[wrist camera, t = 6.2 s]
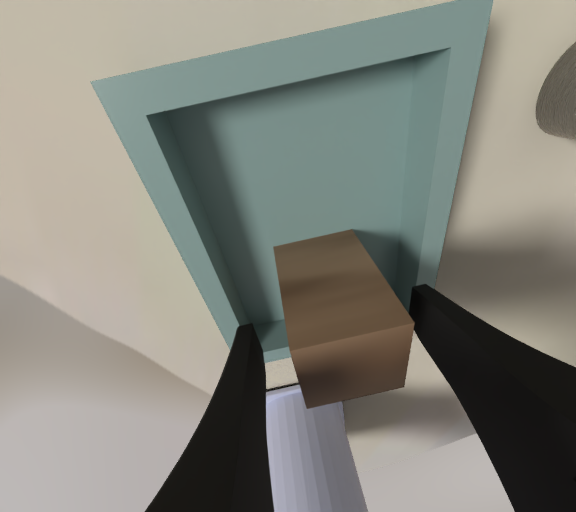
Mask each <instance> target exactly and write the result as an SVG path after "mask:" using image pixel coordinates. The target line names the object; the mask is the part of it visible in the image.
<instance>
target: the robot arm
mask: <svg viewBox="0 0 576 512" xmlns="http://www.w3.org/2000/svg"><path fill="white" fill-rule="evenodd" d="M409 315H410V317H411V318H412V320H413V321H414V323H415V324H414V331H415V332H416V334H417V336H418V338H419V340H420V341H421V343H422V344H423V346H424V347H425V349H426V350H427V352H428V353H429V355H430V356H431V358H432V359H433V361H434V362H435V364H436V365H437V367H438V368H439V370H440V371H441V373H442V374H443V375H444V377H445V378H446V380H447V381H448V383H449V384H450V386H451V387H452V389H453V391H454V392H455V394H456V395H457V397H458V399H459V401H460V403H461V404H462V406H463V408H464V410H465V412H466V413H467V415H468V417H469V419H470V421H471V423H472V425H473V426H474V428H475V430H476V432H477V434H478V436H479V438H480V440H481V442H482V443H483V445H484V447H485V450H486V452H487V454H488V456H489V458H490V460H491V462H492V464H493V466H494V468H495V470H496V472H497V474H498V476H499V478H500V480H501V482H502V484H503V487H504V489H505V491H506V493H507V495H508V497H509V500H510V502H511V504H512V506H513V508H514V511H515V512H576V367H574V366H571V365H569V364H567V363H565V362H562V361H560V360H558V359H555V358H553V357H551V356H549V355H547V354H545V353H542V352H540V351H538V350H536V349H534V348H532V347H530V346H528V345H526V344H524V343H522V342H520V341H518V340H516V339H515V338H513V337H511V336H509V335H507V334H505V333H504V332H502V331H500V330H498V329H496V328H495V327H493V326H491V325H489V324H488V323H486V322H484V321H483V320H481V319H479V318H478V317H476V316H474V315H473V314H471V313H470V312H468V311H466V310H465V309H463V308H462V307H460V306H459V305H457V304H456V303H454V302H453V301H451V300H450V299H448V298H446V297H445V296H443V295H442V294H440V293H439V292H438V291H436V290H435V289H433V288H431V287H430V286H428V285H427V284H422V285H418V286H413V287H412V291H411V299H410V306H409ZM145 512H368V510H367V506H366V502H365V499H364V495H363V492H362V489H361V485H360V481H359V477H358V474H357V470H356V466H355V463H354V459H353V456H352V452H351V448H350V445H349V441H348V438H347V434H346V431H345V421H344V412H343V404H342V401H341V402H336V403H332V404H327V405H323V406H319V407H314V408H310V409H307V408H306V405H305V402H304V398H303V395H302V391H301V388H300V385H295V386H290V387H286V388H282V389H277V390H273V391H268V392H266V372H265V363H264V354H263V349H262V347H261V344H260V342H259V339H258V337H257V334H256V331H255V329H254V326H253V324H252V323H250V324H246V325H241V326H238V328H237V330H236V334H235V337H234V341H233V344H232V347H231V350H230V353H229V356H228V359H227V362H226V364H225V367H224V370H223V372H222V375H221V378H220V380H219V382H218V385H217V387H216V389H215V392H214V394H213V396H212V399H211V401H210V403H209V405H208V407H207V409H206V411H205V414H204V415H203V417H202V419H201V421H200V423H199V425H198V427H197V429H196V431H195V433H194V434H193V436H192V438H191V440H190V442H189V443H188V445H187V447H186V449H185V450H184V452H183V454H182V455H181V457H180V459H179V461H178V462H177V464H176V465H175V467H174V468H173V470H172V472H171V473H170V475H169V476H168V478H167V479H166V481H165V482H164V484H163V486H162V487H161V489H160V490H159V492H158V493H157V495H156V496H155V498H154V499H153V501H152V502H151V503H150V505H149V506H148V508H147V509H146V511H145Z"/></svg>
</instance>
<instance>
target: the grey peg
mask: <svg viewBox="0 0 576 512" xmlns="http://www.w3.org/2000/svg"><path fill="white" fill-rule="evenodd" d="M536 119H537V123H538V125H539V127H540V128H541V129H542V130H543V131H544V132H545V133H548V134H551V135H555V136H560V137H565V138H569V139H574V140H576V42H575V43H574V44H573V45H572V46H571V47H570V48H569V49H568V50H567V51H566V52H565V53H564V54H563V55H562V56H561V57H560V59H559V60H558V61H557V62H556V64H555V65H554V67H553V68H552V69H551V71H550V72H549V74H548V76H547V78H546V79H545V81H544V84H543V86H542V88H541V90H540V93H539V96H538V100H537V105H536Z"/></svg>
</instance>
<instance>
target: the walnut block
mask: <svg viewBox="0 0 576 512" xmlns="http://www.w3.org/2000/svg"><path fill="white" fill-rule="evenodd" d="M273 249H274V256H275V262H276V268H277V274H278V281H279V287H280V293H281V300H282V306H283V312H284V319H285V325H286V331H287V338H288V344H289V350H290V354H291V357H292V361H293V364H294V368H295V371H296V374H297V378H298V381H299V385H300V388H301V391H302V395H303V398H304V402H305V405H306V408H307V409H310V408H314V407H319V406H323V405H327V404H332V403H336V402H341V401H345V400H350V399H354V398H358V397H363V396H367V395H372V394H376V393H380V392H385V391H389V390H394V389H398V388H402V387H404V385H405V379H406V372H407V366H408V360H409V354H410V348H411V342H412V336H413V330H414V324H415V323H414V321H413V320H412V318H411V317H410V315H409V314H408V312H407V311H406V309H405V308H404V306H403V305H402V303H401V302H400V300H399V299H398V297H397V296H396V294H395V293H394V291H393V290H392V288H391V287H390V285H389V284H388V282H387V281H386V279H385V278H384V276H383V275H382V273H381V272H380V270H379V269H378V267H377V266H376V264H375V263H374V261H373V260H372V259H371V257H370V256H369V254H368V253H367V251H366V250H365V248H364V247H363V245H362V244H361V242H360V241H359V239H358V238H357V236H356V235H355V233H354V232H353V230H352V229H350V230H346V231H341V232H337V233H332V234H328V235H323V236H319V237H314V238H310V239H305V240H301V241H296V242H292V243H287V244H283V245H279V246H274V247H273Z"/></svg>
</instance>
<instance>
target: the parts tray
mask: <svg viewBox="0 0 576 512" xmlns="http://www.w3.org/2000/svg"><path fill="white" fill-rule="evenodd" d="M492 4H493V0H456V1H451V2H447V3H442V4H438V5H433V6H429V7H424V8H420V9H415V10H411V11H406V12H402V13H397V14H393V15H388V16H384V17H379V18H375V19H370V20H366V21H361V22H357V23H352V24H348V25H343V26H339V27H334V28H330V29H325V30H321V31H316V32H312V33H307V34H303V35H298V36H294V37H289V38H285V39H280V40H276V41H271V42H267V43H262V44H258V45H253V46H249V47H245V48H240V49H236V50H231V51H227V52H222V53H218V54H213V55H209V56H204V57H200V58H195V59H191V60H186V61H182V62H177V63H173V64H168V65H164V66H159V67H155V68H150V69H146V70H141V71H137V72H132V73H128V74H123V75H119V76H114V77H110V78H105V79H101V80H96V81H92V82H91V84H92V86H93V88H94V90H95V92H96V94H97V96H98V98H99V100H100V101H101V103H102V105H103V107H104V109H105V111H106V113H107V115H108V117H109V119H110V121H111V123H112V124H113V126H114V128H115V130H116V132H117V134H118V136H119V138H120V140H121V142H122V144H123V146H124V148H125V149H126V151H127V153H128V155H129V157H130V159H131V161H132V163H133V165H134V167H135V169H136V171H137V172H138V174H139V176H140V178H141V180H142V182H143V184H144V186H145V188H146V190H147V192H148V194H149V195H150V197H151V199H152V201H153V203H154V205H155V207H156V209H157V211H158V213H159V215H160V217H161V218H162V220H163V222H164V224H165V226H166V228H167V230H168V232H169V234H170V236H171V238H172V240H173V241H174V243H175V245H176V247H177V249H178V251H179V253H180V255H181V257H182V259H183V261H184V263H185V264H186V266H187V268H188V270H189V272H190V274H191V276H192V278H193V280H194V282H195V284H196V286H197V287H198V289H199V291H200V293H201V295H202V297H203V299H204V301H205V303H206V305H207V307H208V309H209V310H210V312H211V314H212V316H213V318H214V320H215V322H216V324H217V326H218V328H219V330H220V332H221V333H222V335H223V337H224V339H225V341H226V343H227V345H228V347H229V349H230V350H231V347H232V344H233V341H234V337H235V334H236V330H237V328H238V326H241V325H246V324H250V323H252V324H253V326H254V329H255V331H256V334H257V337H258V339H259V342H260V344H261V347H262V349H263V354H264V363H267V362H272V361H276V360H280V359H285V358H289V357H291V354H290V350H289V344H288V338H287V331H286V325H285V319H284V312H283V306H282V300H281V293H280V287H279V281H278V274H277V268H276V262H275V256H274V249H273V247H274V246H279V245H283V244H287V243H292V242H296V241H301V240H305V239H310V238H314V237H319V236H323V235H328V234H332V233H337V232H341V231H346V230H350V229H352V230H353V232H354V233H355V235H356V236H357V238H358V239H359V241H360V242H361V244H362V245H363V247H364V248H365V250H366V251H367V253H368V254H369V256H370V257H371V259H372V260H373V261H374V263H375V264H376V266H377V267H378V269H379V270H380V272H381V273H382V275H383V276H384V278H385V279H386V281H387V282H388V284H389V285H390V287H391V288H392V290H393V291H394V293H395V294H396V296H397V297H398V299H399V300H400V302H401V303H402V305H403V306H404V308H405V309H406V311H407V312H408V314H409V306H410V299H411V291H412V287H413V286H418V285H422V284H427V285H428V286H430V287H431V288H433V289H434V287H435V282H436V277H437V273H438V268H439V263H440V258H441V253H442V248H443V243H444V238H445V234H446V229H447V224H448V219H449V214H450V209H451V204H452V199H453V195H454V190H455V185H456V180H457V175H458V170H459V165H460V160H461V156H462V151H463V146H464V141H465V136H466V131H467V126H468V121H469V117H470V112H471V107H472V102H473V97H474V92H475V87H476V82H477V78H478V73H479V68H480V63H481V58H482V53H483V48H484V43H485V39H486V34H487V29H488V24H489V19H490V14H491V9H492Z"/></svg>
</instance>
